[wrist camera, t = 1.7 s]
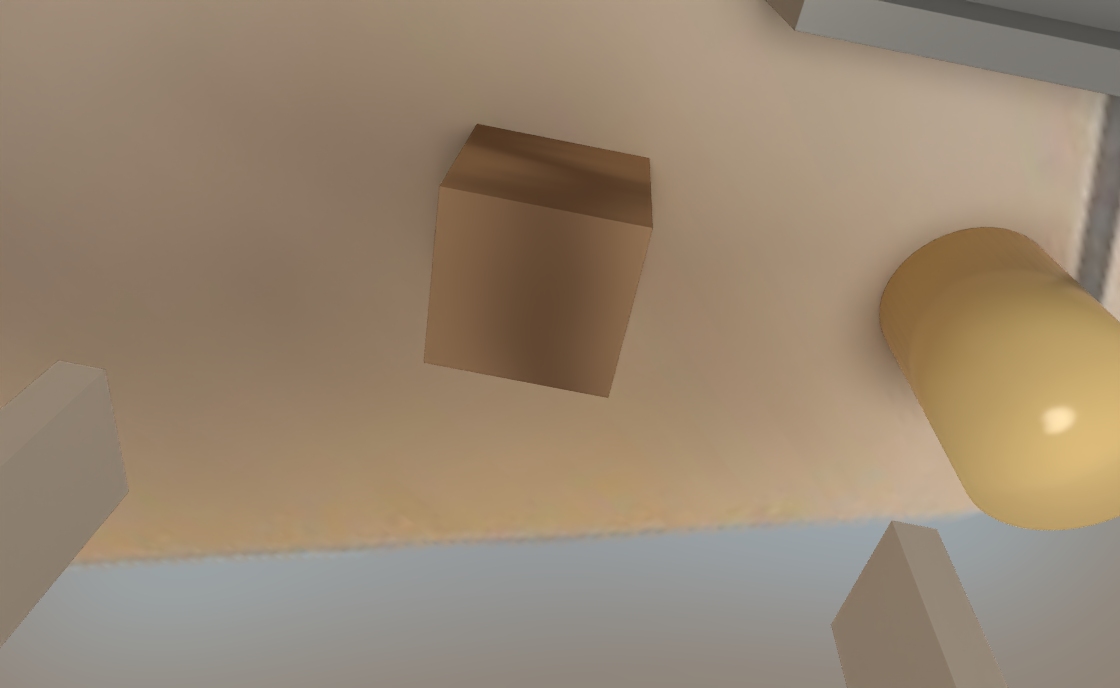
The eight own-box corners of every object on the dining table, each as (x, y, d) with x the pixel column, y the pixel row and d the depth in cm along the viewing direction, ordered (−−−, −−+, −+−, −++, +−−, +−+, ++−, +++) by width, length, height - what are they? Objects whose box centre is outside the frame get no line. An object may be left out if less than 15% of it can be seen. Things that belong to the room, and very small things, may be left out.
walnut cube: (460, 275, 24) (423, 362, 20) (477, 123, 21) (439, 186, 17) (612, 305, 24) (608, 397, 20) (649, 157, 22) (652, 228, 17)
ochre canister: (854, 353, 24) (924, 509, 18) (920, 212, 22) (1027, 341, 16) (1003, 382, 24) (1120, 546, 19) (1088, 245, 22) (1255, 386, 16)
